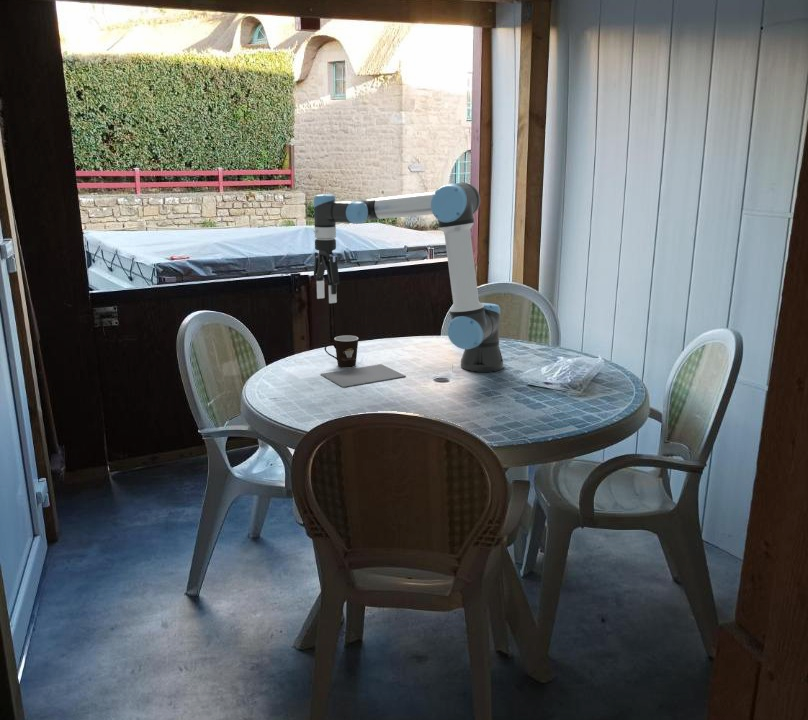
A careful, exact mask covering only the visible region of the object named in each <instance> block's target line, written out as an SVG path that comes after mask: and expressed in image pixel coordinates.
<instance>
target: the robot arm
mask: <svg viewBox="0 0 808 720" xmlns="http://www.w3.org/2000/svg"><path fill="white" fill-rule="evenodd" d="M480 205H481V195H480V193H479V191H478V189H477V188H476V187H475V186H473V185H472V184H470V183H467V182H458V183H448V184H444V185H441V186H440V187H439V188H437V189H436V190H435V191H431V192H420V193H410V194H403V195H393V196H384V197H376V198H375V197H373V198H371V197H370V198H369V197H368V198H365V199H364V198H363V199H355V200H337V199H336V196H335V195H334V194H331V193H330V194H326V193H322V194H315V196H314V197H313V213H314V214H313V218H314V230H313V232H314V238H315V240H314V249H315V250H316V252H314V266H313V279H315V281H316V299H317V300H319V299H325V297H326V296H325V295H326V294H325V271H326V273H327V277H328V278H327V279H328V282H329V283H328V284H327V286H328V304H336V303H337V302H338V299H337V294H338V293H337V285H340V282H341V281H340V274H339V268H338V267H339V266H338V256H337V255H334V254H333V251H335V250H336V249H337V240H336V238H337V228H336V227H337V226H336V225H337V223H341V224H342V223H343V224H353V225H355V224H364V223H365V222H366V221H372V220H383V219H393V218H405V217H417V216H419V217H420V216H427V215H433V216H434V217H435V218H436V219H437V224H438V225H437V226H438V230H440V231H442V233H443V235H444V243H445V249H446V257H447V263H448V264H447V265H448V273H449V280H450V288H451V296H452V297H451V298H452V302H453V303H452V306H451V307H450V309H449V314H450V315H449V317H450V322H449V324H448V325H447V330H446V331H447V336H448V339H449V340H450V342H451V343H452V345H454V346H455V347H456V348H459V349H462V350H463V353H462V357H461V359H460V367H461V369H463V368H464V369H463V370H465V371H469V370H470V371H469V372H474V371H477V372H476V373H492V372H493V371H494V372H498V371H500V370H503V368H504V358H503V355H502V352H501V349H500V329H501V328H500V327H501V326H500V325H501V307H500V306H499V304H497V303H496V304H495V303H488V302H480V298H479V291H478V283H477V282H478V281H477V275H476V267H475V259H474V257H475V256H474V250H473V242H472V235H471V233H472V232H471V229H472V227H473V226H474V224H475V220H474V215H475V214H476V213H477V211H478V210H479V207H480Z"/></svg>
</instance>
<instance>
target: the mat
mask: <svg viewBox="0 0 808 720" xmlns="http://www.w3.org/2000/svg"><path fill="white" fill-rule="evenodd" d="M320 376H321V377H323V376H324V377H323V378H325V379H327V380H329V381H330V380H331V381H330V382H333V383H334V384H335V383H336V385H337V384H338V385H337V386H339V385H340V386H339V387H341V388H342V387H345V388H348V387H347V386H351V387H355V386H354V385H356V386H361V385H360V384H362V385H366V383H368V384H373V382H374V383H378V382H379V381H380V382H384V380H385V381H391V380H396V379H403V378H406V377H407V376H406V375H405V374H403V373H401V372H399V371H397V370H394V369H392V368H390V367H388V366H386V365H384V364H382V363H380V364H374V365H373V364H372V365H367V366H361V367H355V368H354V367H353V368H347V369H344V370H343V369H342V370H336V371H330V372H323V373H320Z"/></svg>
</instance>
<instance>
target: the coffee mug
mask: <svg viewBox="0 0 808 720" xmlns="http://www.w3.org/2000/svg"><path fill="white" fill-rule="evenodd" d="M333 341H334V343H333V342H328V343H327V344H325V346H324V351H325V353H326V354H327V355H328V356H330V357H332V358H333V359H335V360H336V361H337V362H336V363H337V366H338V367H339V368H342V367H351V368H354V367H353V366H355V365H356V366H357V364H356V363H357V356H358V354H357V353H358V346H359V337H358V336H356V335H339V336H335V337H334V339H333ZM330 345H332V346H333V348H334V350H335V353H336V356H335V355H332V354H331V353H329V352H328V351H327V347H328V346H330ZM356 366H355V367H356Z"/></svg>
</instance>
